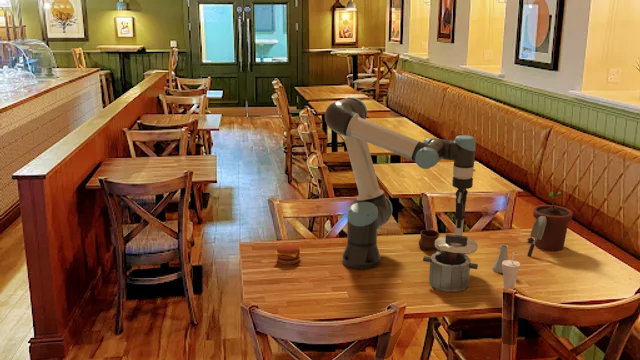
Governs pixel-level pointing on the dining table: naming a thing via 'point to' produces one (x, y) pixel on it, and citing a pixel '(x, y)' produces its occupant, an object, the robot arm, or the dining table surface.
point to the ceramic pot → (428, 240)
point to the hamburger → (288, 253)
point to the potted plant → (549, 227)
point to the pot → (449, 271)
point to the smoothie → (510, 272)
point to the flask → (501, 259)
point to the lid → (456, 244)
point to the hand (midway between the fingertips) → (458, 234)
